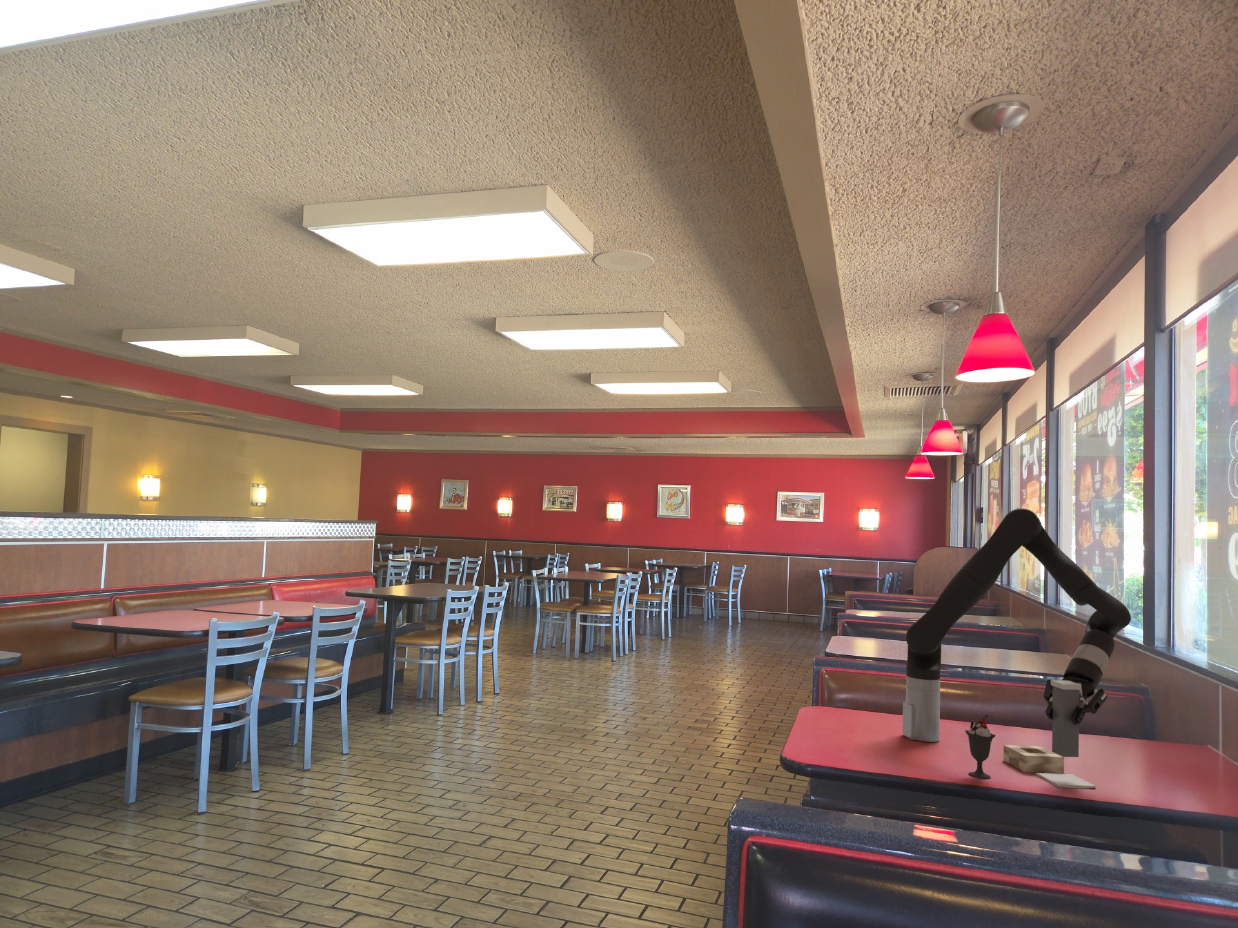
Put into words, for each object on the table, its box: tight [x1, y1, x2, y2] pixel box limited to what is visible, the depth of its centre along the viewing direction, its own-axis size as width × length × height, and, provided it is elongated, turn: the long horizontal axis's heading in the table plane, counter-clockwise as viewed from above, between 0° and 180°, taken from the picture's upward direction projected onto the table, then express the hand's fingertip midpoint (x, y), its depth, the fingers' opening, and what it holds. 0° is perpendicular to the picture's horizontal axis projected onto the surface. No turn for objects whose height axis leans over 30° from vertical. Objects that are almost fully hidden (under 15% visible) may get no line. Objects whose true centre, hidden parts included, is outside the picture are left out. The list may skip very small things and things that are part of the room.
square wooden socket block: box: [1003, 744, 1065, 774], centre depth 198 cm, size 10×10×4 cm
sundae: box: [964, 714, 997, 780], centre depth 188 cm, size 7×7×15 cm
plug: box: [1050, 679, 1081, 758], centre depth 187 cm, size 5×5×17 cm
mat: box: [1035, 772, 1097, 789], centre depth 186 cm, size 9×9×1 cm
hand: (1061, 719), depth 186 cm, fingers closed on plug, 5 cm apart
